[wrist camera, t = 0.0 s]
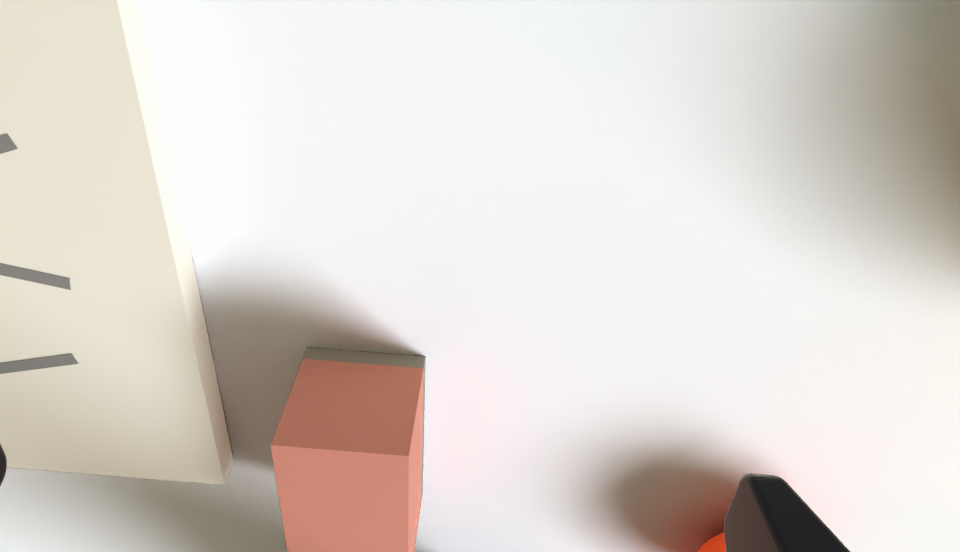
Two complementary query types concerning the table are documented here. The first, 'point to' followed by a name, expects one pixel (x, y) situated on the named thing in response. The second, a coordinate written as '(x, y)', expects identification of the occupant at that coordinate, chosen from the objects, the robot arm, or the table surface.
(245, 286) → the table surface
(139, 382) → the board
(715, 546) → the clementine
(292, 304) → the table surface
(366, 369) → the block
